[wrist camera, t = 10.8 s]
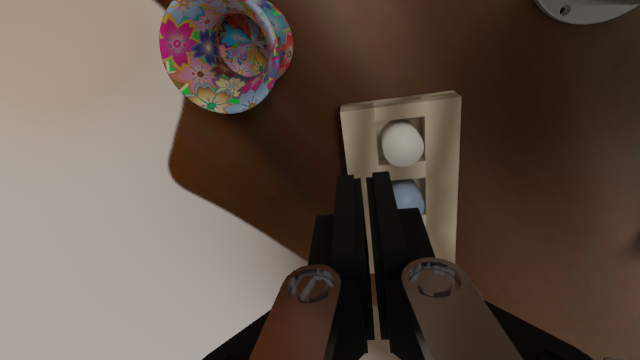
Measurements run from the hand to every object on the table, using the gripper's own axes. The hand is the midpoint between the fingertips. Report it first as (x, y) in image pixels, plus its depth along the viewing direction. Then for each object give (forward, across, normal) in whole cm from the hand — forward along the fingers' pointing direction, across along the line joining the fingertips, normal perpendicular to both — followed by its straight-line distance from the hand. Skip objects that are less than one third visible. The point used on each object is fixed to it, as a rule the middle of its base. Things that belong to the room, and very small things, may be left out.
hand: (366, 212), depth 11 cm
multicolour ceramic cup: (+27, +10, -6) cm, 30 cm away
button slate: (+26, -4, +14) cm, 30 cm away
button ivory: (+26, -4, +7) cm, 27 cm away
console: (+27, -4, +14) cm, 31 cm away
